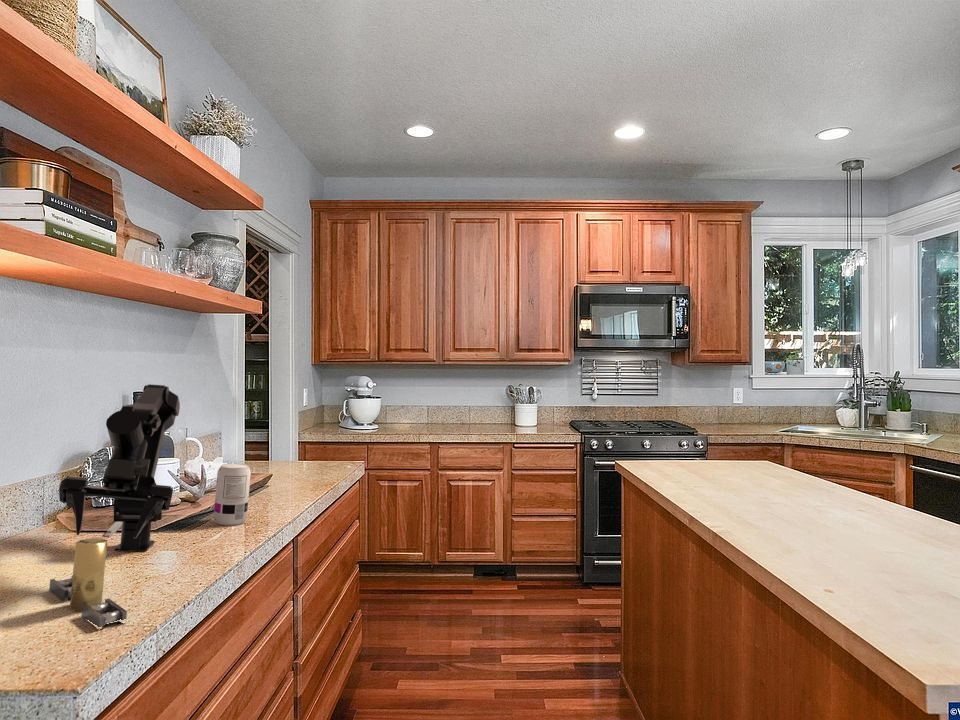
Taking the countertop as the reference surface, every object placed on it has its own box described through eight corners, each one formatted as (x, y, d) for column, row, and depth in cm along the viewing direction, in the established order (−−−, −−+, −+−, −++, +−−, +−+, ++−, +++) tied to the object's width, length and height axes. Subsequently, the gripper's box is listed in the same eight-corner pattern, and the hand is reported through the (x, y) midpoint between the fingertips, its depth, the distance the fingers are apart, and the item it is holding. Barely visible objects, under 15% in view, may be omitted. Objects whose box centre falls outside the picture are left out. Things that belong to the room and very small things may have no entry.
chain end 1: (49, 590, 110) (50, 579, 110) (74, 585, 113) (75, 574, 113) (63, 602, 105) (64, 590, 105) (89, 596, 109) (90, 585, 109)
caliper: (137, 515, 162) (139, 492, 162) (142, 515, 162) (144, 492, 162) (104, 537, 142) (106, 510, 142) (109, 538, 142) (111, 511, 142)
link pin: (82, 599, 107) (88, 537, 107) (107, 602, 107) (113, 539, 107) (63, 609, 103) (69, 544, 103) (89, 612, 102) (95, 547, 102)
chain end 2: (81, 616, 101) (82, 604, 101) (107, 610, 104) (109, 598, 104) (98, 630, 96) (99, 617, 96) (125, 623, 100) (126, 611, 100)
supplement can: (206, 523, 159) (211, 466, 159) (226, 516, 167) (231, 461, 167) (233, 527, 157) (238, 469, 157) (252, 520, 165) (257, 465, 165)
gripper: (72, 434, 113) (45, 512, 103) (182, 447, 121) (166, 521, 111) (72, 464, 120) (47, 539, 110) (176, 474, 128) (161, 546, 118)
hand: (106, 536), depth 112 cm, fingers open, 9 cm apart
